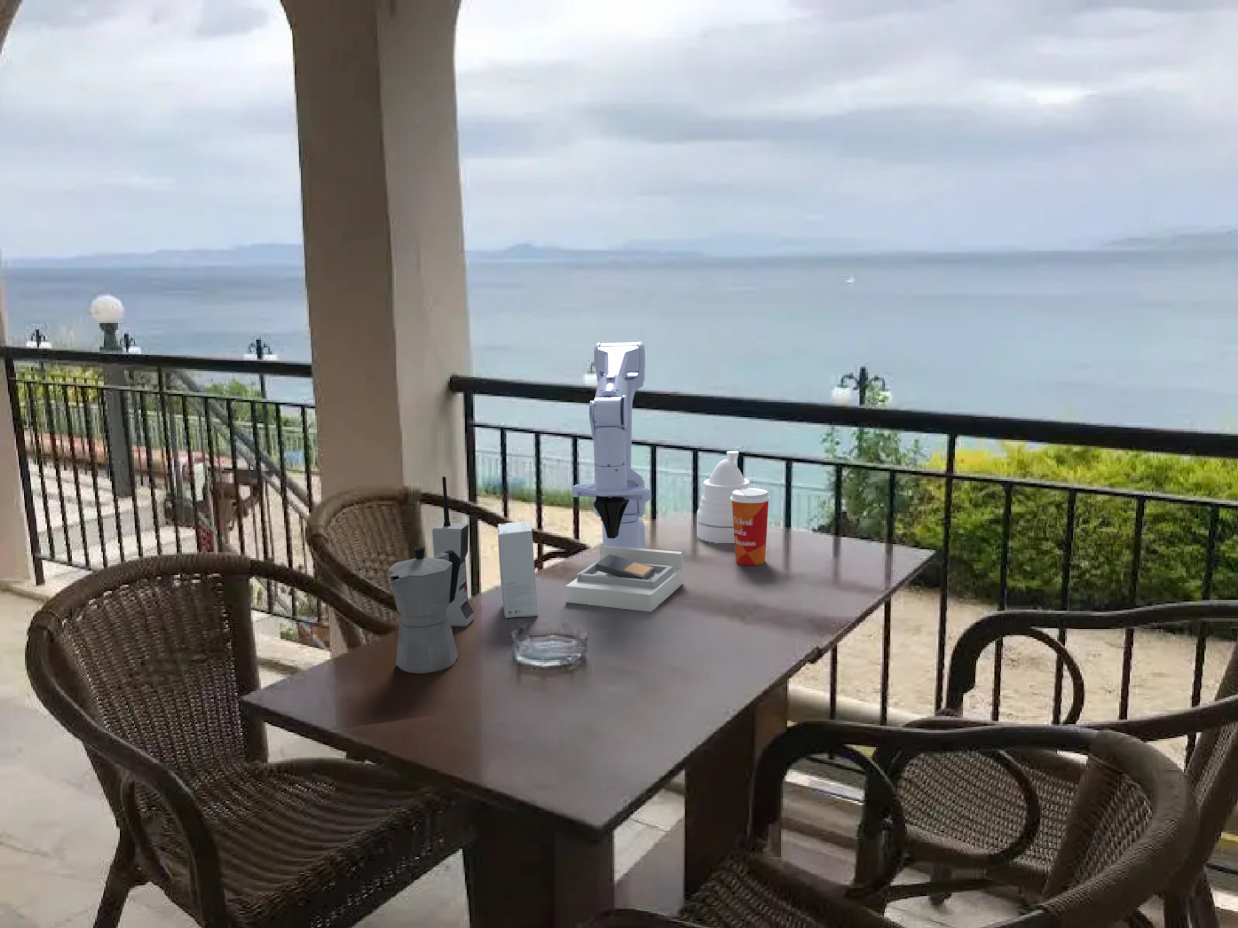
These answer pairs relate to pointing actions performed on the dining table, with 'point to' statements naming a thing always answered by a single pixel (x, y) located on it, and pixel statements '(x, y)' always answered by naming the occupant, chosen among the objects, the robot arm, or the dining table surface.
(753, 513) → the paper cup
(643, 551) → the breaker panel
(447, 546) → the vintage mobile phone
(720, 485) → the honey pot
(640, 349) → the robot arm
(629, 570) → the block
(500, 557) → the skincare box
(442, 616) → the coffeepot
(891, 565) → the dining table surface
